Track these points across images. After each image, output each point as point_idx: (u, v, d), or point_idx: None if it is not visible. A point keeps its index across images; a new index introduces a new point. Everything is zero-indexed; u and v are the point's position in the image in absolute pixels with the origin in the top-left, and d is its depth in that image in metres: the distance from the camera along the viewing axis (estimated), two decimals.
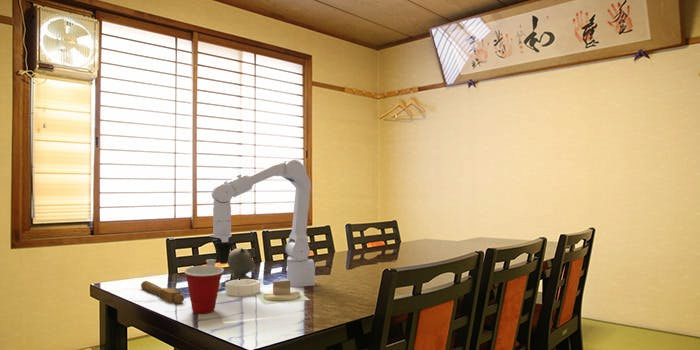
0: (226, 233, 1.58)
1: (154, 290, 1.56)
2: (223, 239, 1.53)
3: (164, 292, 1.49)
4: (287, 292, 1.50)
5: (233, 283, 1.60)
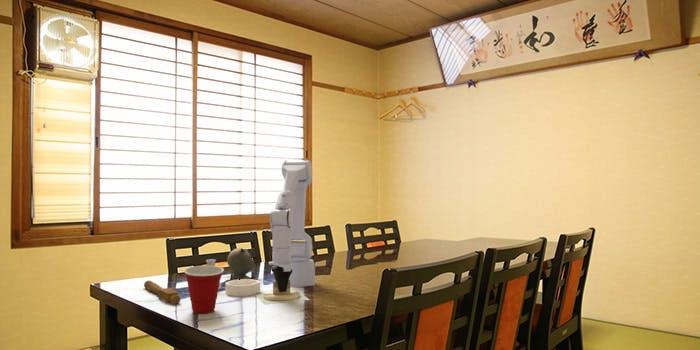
0: (287, 261, 1.48)
1: (154, 290, 1.56)
2: (286, 268, 1.43)
3: (162, 292, 1.48)
4: (287, 292, 1.50)
5: (233, 283, 1.60)
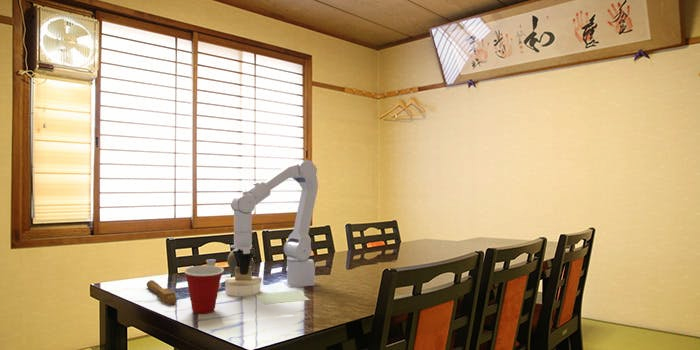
0: (247, 244, 1.56)
1: (155, 290, 1.56)
2: (245, 250, 1.51)
3: (160, 292, 1.48)
4: (248, 278, 1.58)
5: None
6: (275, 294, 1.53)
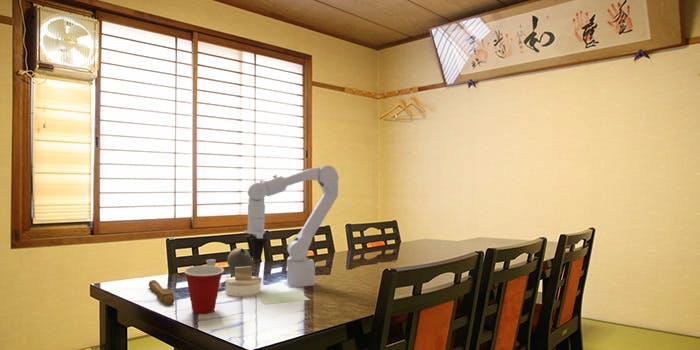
0: (260, 230, 1.65)
1: (155, 290, 1.56)
2: (258, 235, 1.60)
3: (159, 292, 1.48)
4: (248, 278, 1.58)
5: None
6: (275, 294, 1.53)
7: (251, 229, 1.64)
